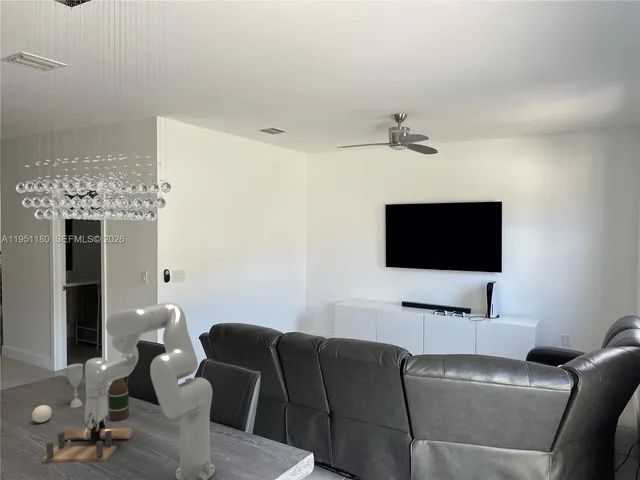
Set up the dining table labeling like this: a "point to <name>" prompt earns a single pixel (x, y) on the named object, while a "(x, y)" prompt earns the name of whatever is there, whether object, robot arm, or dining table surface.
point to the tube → (86, 435)
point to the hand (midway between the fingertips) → (98, 437)
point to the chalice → (75, 381)
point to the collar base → (79, 451)
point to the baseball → (41, 413)
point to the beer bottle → (118, 400)
